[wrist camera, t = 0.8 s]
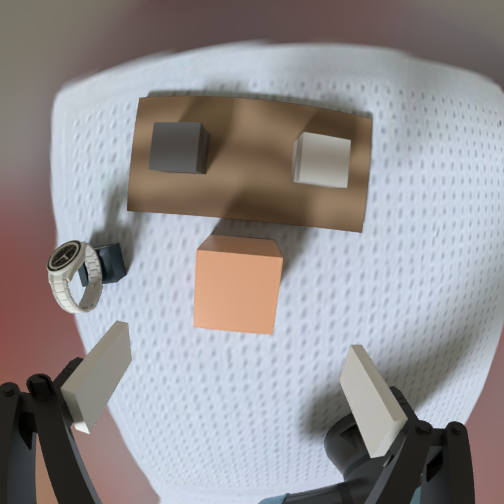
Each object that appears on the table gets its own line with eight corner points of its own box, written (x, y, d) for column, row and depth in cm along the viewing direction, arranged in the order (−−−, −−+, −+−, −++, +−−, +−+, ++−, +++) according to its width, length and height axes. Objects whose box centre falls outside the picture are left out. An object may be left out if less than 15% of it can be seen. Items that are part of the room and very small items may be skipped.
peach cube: (267, 300, 35) (272, 334, 27) (206, 294, 35) (193, 327, 26) (274, 240, 34) (283, 257, 25) (210, 234, 34) (196, 249, 25)
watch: (115, 227, 33) (67, 244, 23) (129, 287, 35) (90, 322, 24) (82, 235, 33) (31, 253, 23) (96, 291, 35) (53, 324, 24)
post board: (357, 231, 34) (383, 241, 26) (131, 209, 33) (103, 215, 25) (367, 121, 31) (394, 107, 23) (143, 101, 30) (119, 82, 22)
